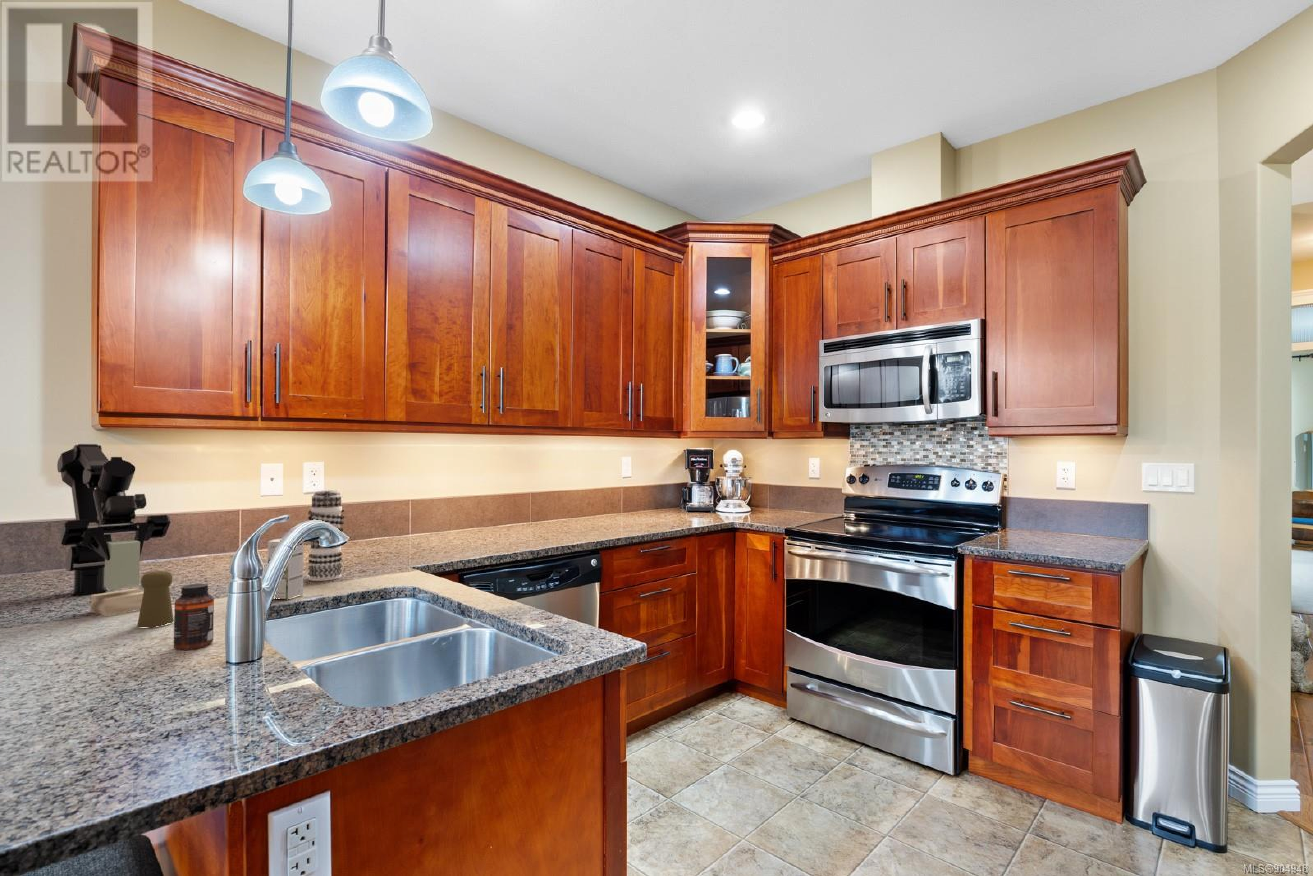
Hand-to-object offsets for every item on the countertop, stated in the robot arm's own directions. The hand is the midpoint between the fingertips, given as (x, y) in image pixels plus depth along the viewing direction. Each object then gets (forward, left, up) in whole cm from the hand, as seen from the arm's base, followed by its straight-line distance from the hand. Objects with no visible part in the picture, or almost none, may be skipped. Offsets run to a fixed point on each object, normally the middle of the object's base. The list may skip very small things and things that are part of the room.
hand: (124, 557), depth 139 cm
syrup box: (+11, +30, -12) cm, 34 cm away
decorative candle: (-8, +45, -12) cm, 47 cm away
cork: (+19, +4, -12) cm, 23 cm away
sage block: (-1, 0, -7) cm, 7 cm away
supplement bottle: (+42, +7, -12) cm, 44 cm away
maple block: (-1, 0, -12) cm, 12 cm away
